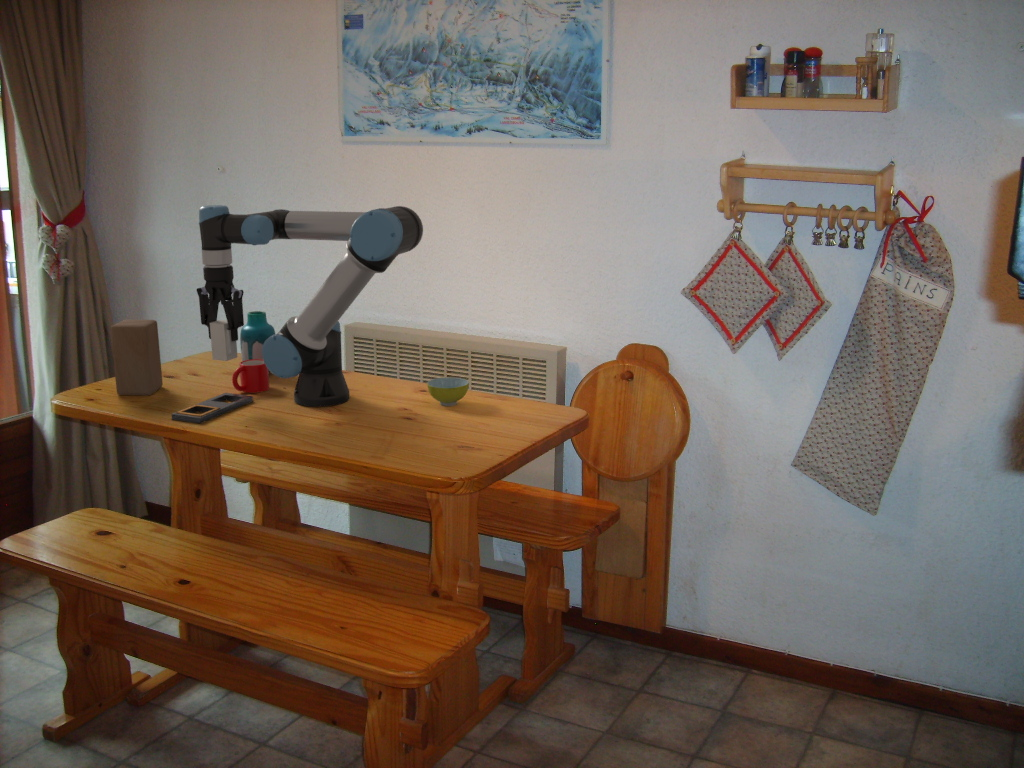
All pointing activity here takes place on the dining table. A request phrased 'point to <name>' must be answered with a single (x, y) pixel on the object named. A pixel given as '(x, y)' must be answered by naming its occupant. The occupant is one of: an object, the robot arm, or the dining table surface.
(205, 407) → the grey slotted plate
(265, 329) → the vase
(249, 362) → the mug
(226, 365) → the dining table surface
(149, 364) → the block
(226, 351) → the peg
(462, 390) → the bowl
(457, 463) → the dining table surface
